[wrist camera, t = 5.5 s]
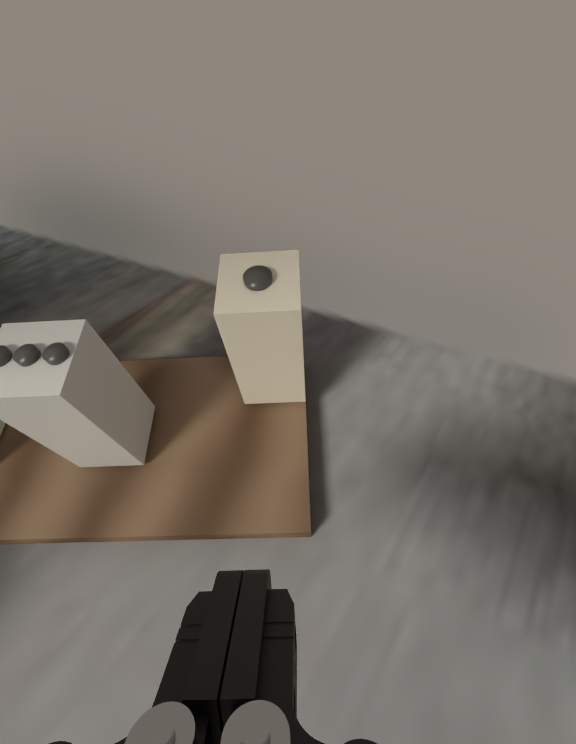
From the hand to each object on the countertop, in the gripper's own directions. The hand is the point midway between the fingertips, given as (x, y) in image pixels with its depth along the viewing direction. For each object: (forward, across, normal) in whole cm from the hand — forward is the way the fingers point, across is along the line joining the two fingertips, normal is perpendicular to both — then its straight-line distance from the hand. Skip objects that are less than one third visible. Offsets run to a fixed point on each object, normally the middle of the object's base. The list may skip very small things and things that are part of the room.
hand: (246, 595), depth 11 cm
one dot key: (+16, 0, -3) cm, 16 cm away
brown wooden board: (+14, +10, +1) cm, 18 cm away
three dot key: (+13, +10, 0) cm, 17 cm away
